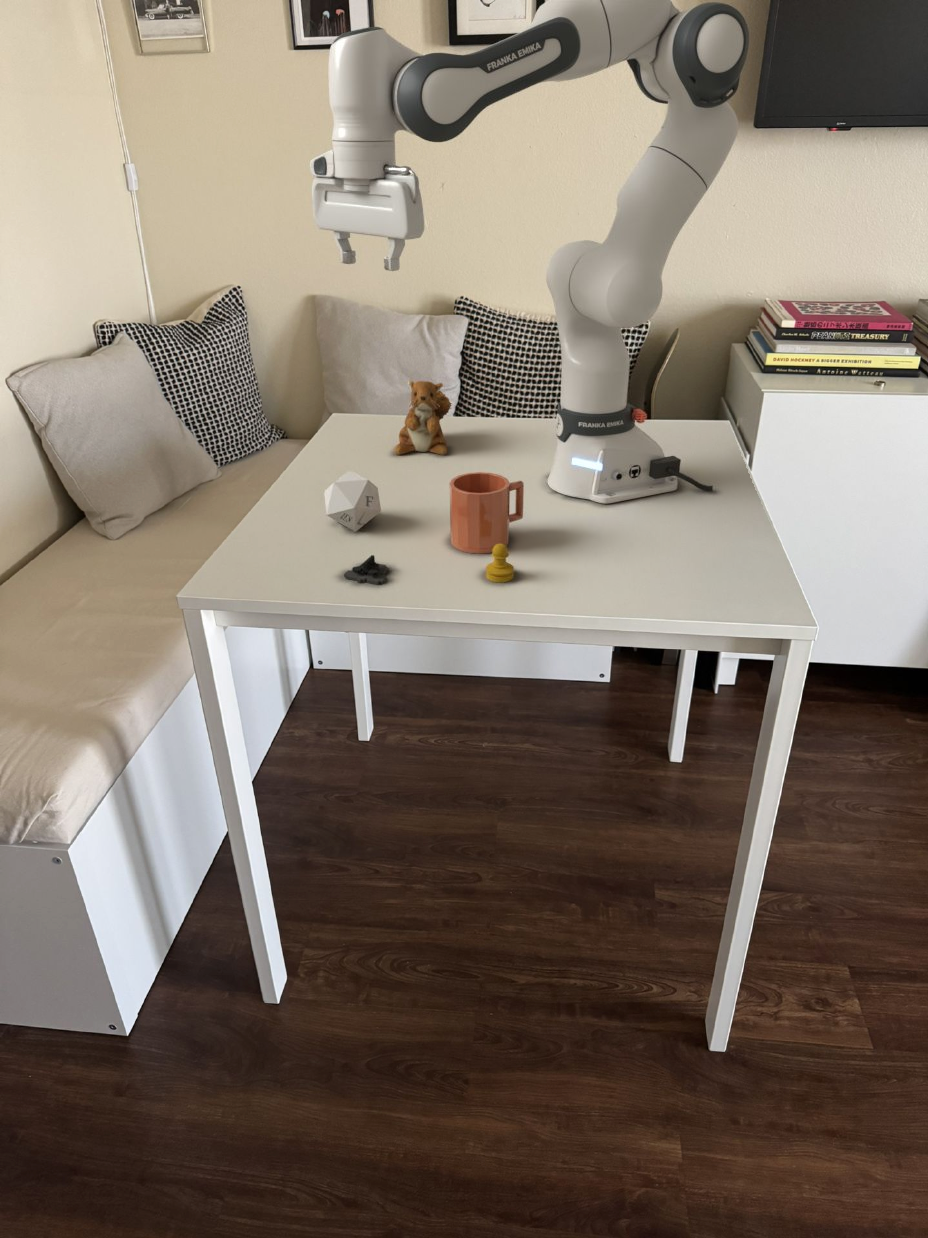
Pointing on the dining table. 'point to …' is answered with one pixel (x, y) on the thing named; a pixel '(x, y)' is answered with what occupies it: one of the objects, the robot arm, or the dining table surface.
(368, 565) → the block figure
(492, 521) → the mug
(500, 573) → the chess piece
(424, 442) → the stuffed squirrel
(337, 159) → the robot arm
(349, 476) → the die
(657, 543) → the dining table surface
